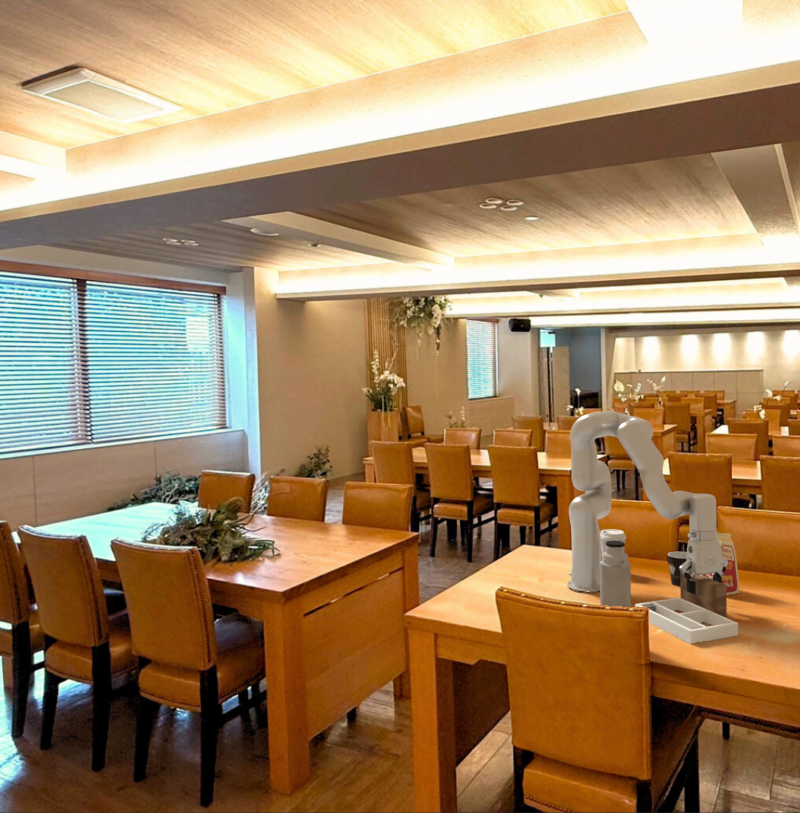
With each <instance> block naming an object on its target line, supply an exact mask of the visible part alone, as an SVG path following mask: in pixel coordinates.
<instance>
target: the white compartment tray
mask: <svg viewBox="0 0 800 813" xmlns="http://www.w3.org/2000/svg"><path fill="white" fill-rule="evenodd" d="M635 607H647V608H648V609H649V622H648V623H649V624H651V625H653V626H655V627H656V628H658V629H660V630H663V631H664V632H666V633H668V634H670V633H671V634H670V635H672V634H673V635H672V636H674V637H675V638H677V639H679V640H682V641H683V642H685V643H687V644H689V645H692V643H693V644H698V643H697V642H699V643H702V642H703V641H705V642H708V641H717V640H721V639H726V638H732V637H737V636H739V623H738V622H736V621H734V620H732V619H729V618H728V617H726V618H725V617H723V616H721V615H718V614H716V613H714V612H711V611H709V610H707V609H704V608H702V607H700V606H698V605H695V604H693V603H691V602H688V601H686V600H684V599H682V598H681V597H679V596H678V597H672V598H666V599H659V600H652V601H647V602H640V603H635V604H634V608H635ZM676 611H679V612H680V613H678V612H676ZM702 622H704V623H706V624H708V625H709V626H708V625H707V626H706V625H705V624H702ZM710 624H711V625H710ZM712 625H713V626H712ZM703 643H704V642H703Z"/></svg>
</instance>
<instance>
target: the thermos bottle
mask: <svg viewBox="0 0 800 813" xmlns="http://www.w3.org/2000/svg"><path fill="white" fill-rule="evenodd" d="M625 544H626V542H625V543H624V542H622V541H614V540H613V541H607V542H606V552H604V553H603V556H602V555H601V561H600V592H599V593H600V594H599V598H600V599H599V600H600V602H599V605H608V606H622V607H631V608H632V597H631V596H632V595H631V594H632V593H631V591H632V589H631V588H632V584H631V583H632V582H631V581H632V580H631V579H632V578H631V577H632V574H631V573H632V572H631V569H632V568H631V566H632V565H631V562H630V561H629V556H628V554H627V553H626V552H625ZM602 559H603V560H602Z"/></svg>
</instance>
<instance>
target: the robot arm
mask: <svg viewBox="0 0 800 813" xmlns="http://www.w3.org/2000/svg"><path fill="white" fill-rule="evenodd" d="M653 435H654V429H653V426H652V424H651V423H650V422H649V421H648V420H646V419H643V418H641V417H637V416H633V415H629V414H625V413H622V412H618V411H614V410H601V411H595V412H590V413H586V414H584V415H581V417H579V418H578V419H577V420H575V422H574V423H573V424H572V426H571V428H570V437H569V438H570V451H571V452H570V461H571V462H570V463H571V466H570V467H571V482H572V485H573V487H574V488H575V489H576V490H578V491H582V492H585V493H584V494H581V495H580V494H579V495H578V496H576V497H575V498H574V499H573V500H572V501H571V502H570V504H569V506H568V516H569V523H570V529H571V530H570V531H571V533H570V534H571V571H569V572H568V575H569V576H571V580H569V581H568V582H567V588H568V587H569V588H568V589H570V588H571V589H574V590H578V591H586V592H587V591H589V592H594V593H599V592H598V591H600V561H601V560H602V552H601V536H600V533H601V529H600V527H599V523H598V522H599V520H601V519H603V518H605V517H606V516H607V515H609V514H610V512H611V509H612V501H613V500H612V475H611V471H610V468H609V467H608V465H607V464H606V463H605V462H603V460H602V461H601V460H600V459H599V460H598V449H597V448H598V447H597V445H596V442H595V441H596V439H598V438H605V437H613V438H614V437H615V438H617V439H618V441H619V443H620V444H621V445H622V447H623V449H624V451H625V452H626V453H627V455H628V457H629V458H630V460H631V461H632V462H633V465H635V467H636V469H637V471H638V473H639V476H640V477H639V478H640V481H641V483H642V484H641V485H642V487H643V491H644V493H645V494H646V497H647V498H648V500H649V502H650V503H651V505H652V506H653V508H654V509H655V510H656V512H657V513H658V514H659V515H660V516H661V517H662V518H665V519H667V520H676V519H677V518H681V517H682V516H687V515H689V532H688V533H687V537H688V538H689V539H688V542H687V548H686V552H687V561H686V562H685V563H683V564H682V565H681V566H679V569H680V571H681V574H682V575H683V576H684V578H685V579H687V592H689V593H692V594H696V582H695V581H694V579H695V577H696V576H697V574H698V575H701V576H702V575H704V574H710V573H714V574H713V580H714V581H717V582H720V583H722V576H723V575H724V572H725V570H726V567H727V564H728V560H726V559H724V558H722V551H721V545H720V542H719V539H717V532H718V531H717V500H716V497H715V496H714V495H713V494H709V493H694V492H689V491H684V490H675V491H673V490H672V489H671V488H670V486H669V485H668V483H667V481H666V478H665V476H664V471H663V470H664V461H665V460H664V456H663V454H662V453H661V452H660V451H659V449H658V447H657V446H656V444H655V443H654V442H653V440H652V438H653V437H654V436H653ZM686 569H687V570H688V571H686ZM691 574H692V575H691ZM690 575H691V576H690ZM571 589H570V590H571ZM574 590H573V591H574ZM578 591H577V592H578ZM586 592H585V593H586Z"/></svg>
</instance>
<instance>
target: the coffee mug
mask: <svg viewBox="0 0 800 813" xmlns="http://www.w3.org/2000/svg"><path fill="white" fill-rule="evenodd" d="M666 561H667V563H668V564H667V565H668V566H669V574H670V582H671V585H673V586H675V585H676V586H675V587H679V586H681V574H680V572H681V571H680V569H679V566H681V565H682V564H683V563H685V562H686V561H687V551H672V552H668V553H667V555H666ZM686 571H688V570H687V569H686Z"/></svg>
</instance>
